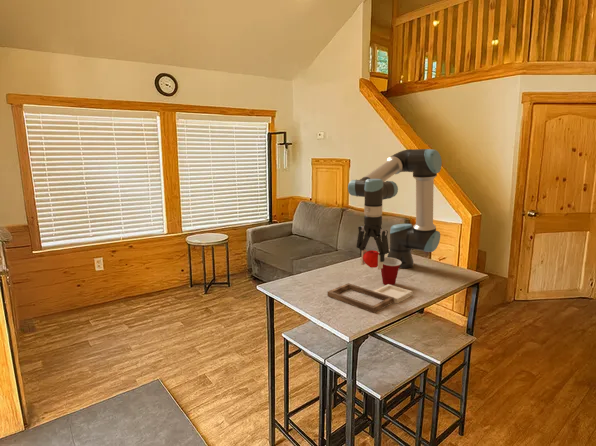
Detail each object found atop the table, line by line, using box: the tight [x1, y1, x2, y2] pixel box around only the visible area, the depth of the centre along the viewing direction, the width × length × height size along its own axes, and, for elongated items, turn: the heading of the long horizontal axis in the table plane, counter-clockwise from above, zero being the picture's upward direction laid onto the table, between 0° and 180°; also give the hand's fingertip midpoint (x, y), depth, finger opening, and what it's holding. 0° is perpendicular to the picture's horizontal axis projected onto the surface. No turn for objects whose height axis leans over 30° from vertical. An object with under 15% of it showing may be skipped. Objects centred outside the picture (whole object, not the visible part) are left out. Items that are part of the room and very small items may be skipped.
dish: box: [373, 284, 413, 304], centre depth 169 cm, size 12×12×2 cm
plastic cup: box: [380, 256, 402, 286], centre depth 182 cm, size 11×11×12 cm
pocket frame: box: [327, 282, 395, 313], centre depth 165 cm, size 15×25×2 cm, turn 44°
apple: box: [363, 249, 380, 269], centre depth 164 cm, size 8×8×7 cm
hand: (371, 266), depth 164 cm, fingers closed on apple, 8 cm apart
